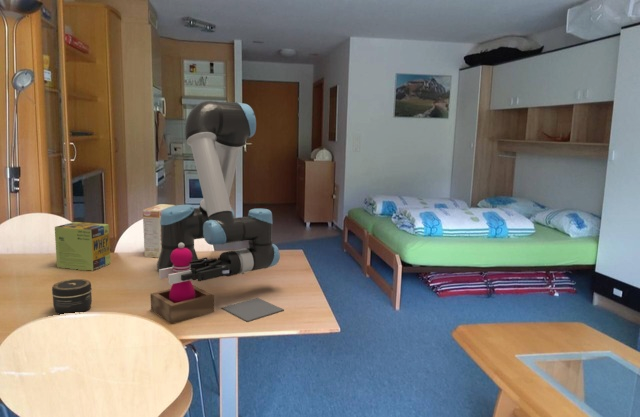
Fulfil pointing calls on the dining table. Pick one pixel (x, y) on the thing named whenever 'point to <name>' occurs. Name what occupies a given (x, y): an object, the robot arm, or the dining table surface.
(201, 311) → the walnut box
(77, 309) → the jar
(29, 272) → the dining table surface
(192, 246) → the robot arm
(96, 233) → the protein box
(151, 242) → the coffeecake box
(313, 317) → the dining table surface
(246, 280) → the dining table surface
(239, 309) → the mat
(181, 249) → the pepper mill
